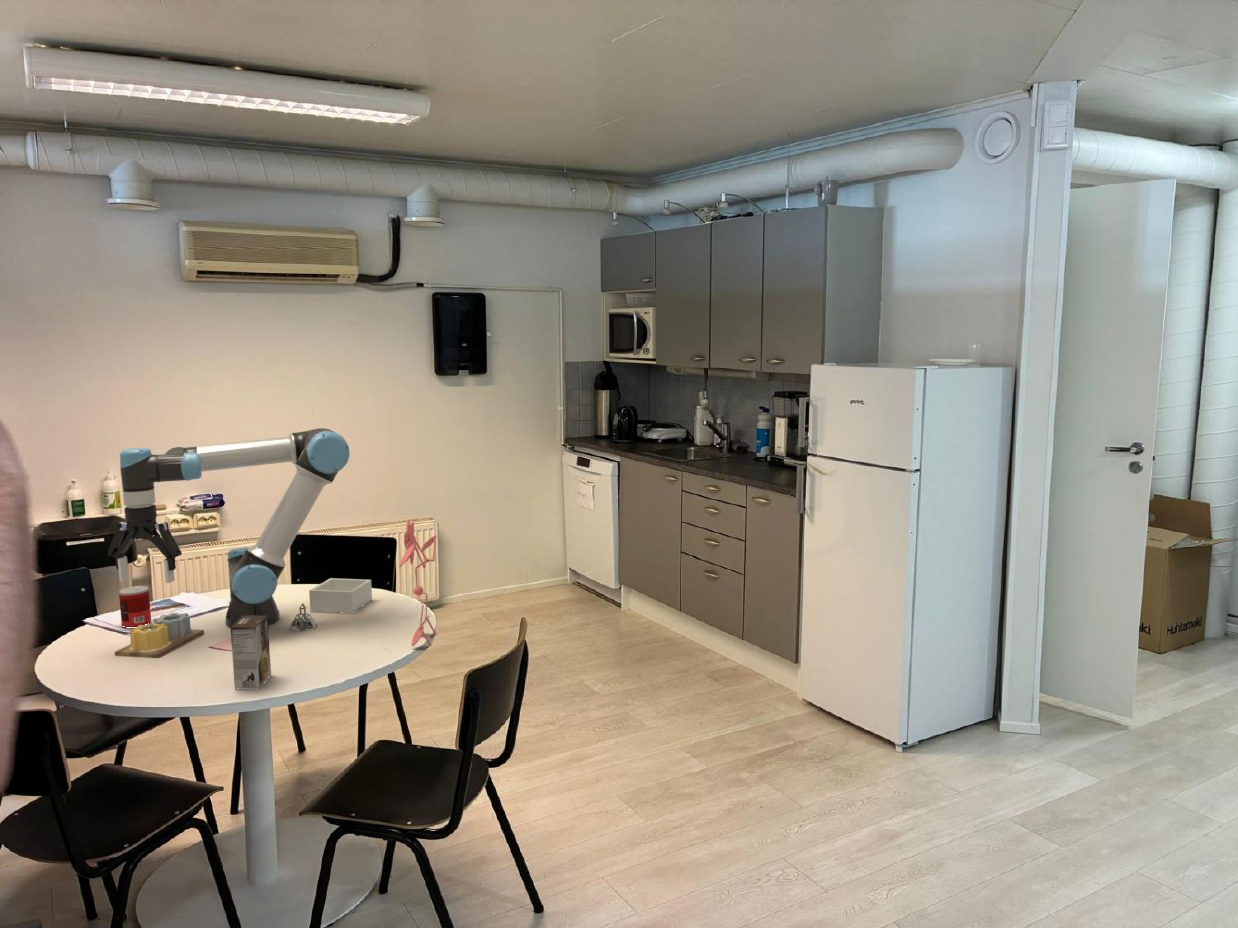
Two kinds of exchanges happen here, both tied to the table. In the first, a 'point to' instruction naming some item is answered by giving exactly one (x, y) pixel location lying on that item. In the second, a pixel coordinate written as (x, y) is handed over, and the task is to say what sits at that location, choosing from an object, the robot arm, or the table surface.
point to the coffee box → (250, 651)
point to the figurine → (418, 590)
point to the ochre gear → (149, 637)
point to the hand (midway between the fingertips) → (147, 581)
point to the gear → (175, 624)
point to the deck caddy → (340, 595)
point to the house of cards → (300, 623)
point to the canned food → (135, 606)
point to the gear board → (165, 649)
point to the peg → (149, 627)
